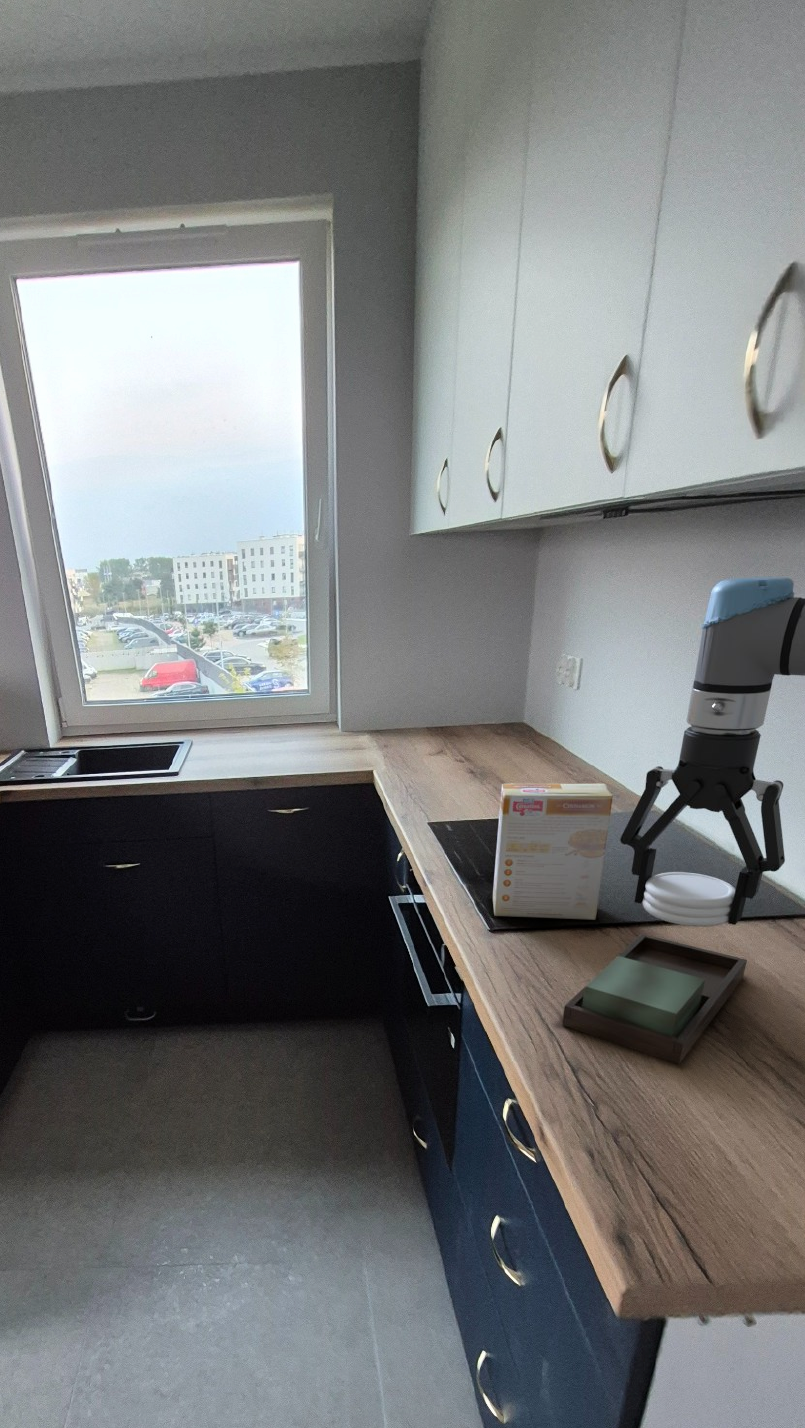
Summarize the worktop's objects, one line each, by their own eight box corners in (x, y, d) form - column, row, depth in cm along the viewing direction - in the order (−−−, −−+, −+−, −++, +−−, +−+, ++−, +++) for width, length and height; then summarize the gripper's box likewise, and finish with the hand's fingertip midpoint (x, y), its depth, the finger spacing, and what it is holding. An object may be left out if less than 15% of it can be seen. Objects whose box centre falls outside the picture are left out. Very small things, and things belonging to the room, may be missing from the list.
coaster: (632, 895, 104) (636, 870, 103) (714, 896, 102) (720, 871, 101) (655, 927, 95) (660, 900, 94) (746, 929, 94) (752, 901, 92)
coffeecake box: (589, 903, 127) (606, 782, 119) (596, 921, 121) (615, 795, 112) (491, 899, 130) (501, 781, 122) (493, 917, 124) (504, 794, 116)
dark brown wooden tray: (742, 978, 103) (751, 942, 101) (678, 1064, 87) (687, 1023, 85) (638, 950, 111) (644, 916, 109) (561, 1025, 95) (567, 987, 93)
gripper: (607, 724, 94) (583, 897, 103) (836, 745, 80) (784, 944, 89) (631, 714, 99) (605, 880, 108) (851, 732, 85) (800, 922, 94)
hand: (686, 909), depth 99 cm, fingers closed on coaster, 10 cm apart
